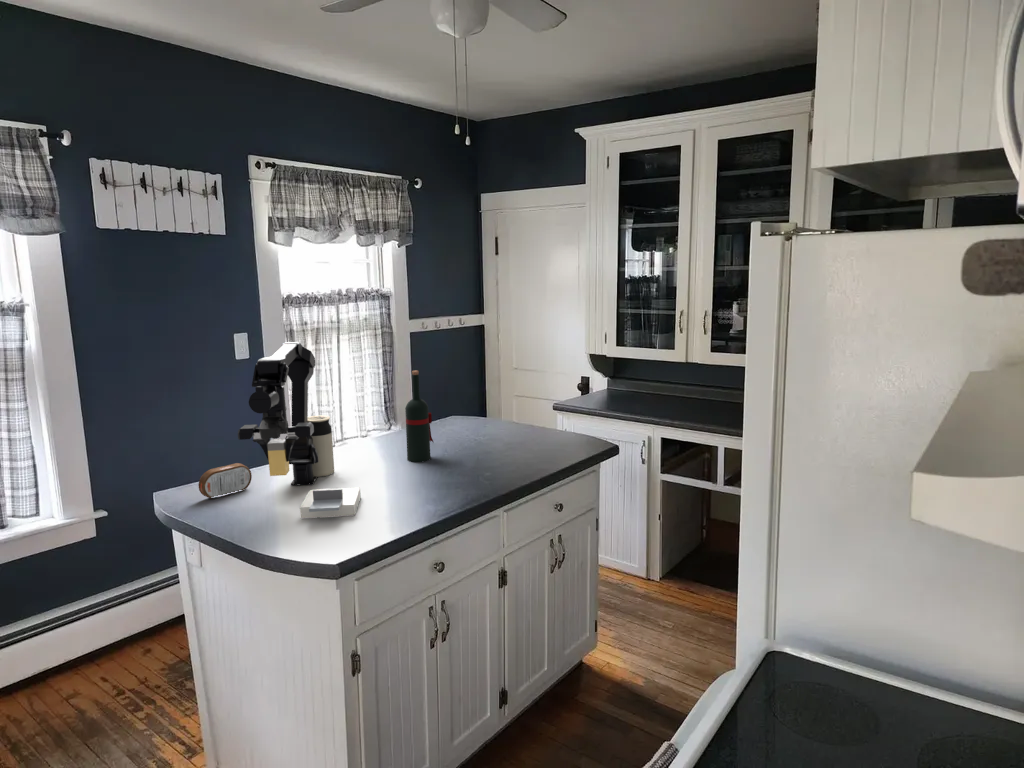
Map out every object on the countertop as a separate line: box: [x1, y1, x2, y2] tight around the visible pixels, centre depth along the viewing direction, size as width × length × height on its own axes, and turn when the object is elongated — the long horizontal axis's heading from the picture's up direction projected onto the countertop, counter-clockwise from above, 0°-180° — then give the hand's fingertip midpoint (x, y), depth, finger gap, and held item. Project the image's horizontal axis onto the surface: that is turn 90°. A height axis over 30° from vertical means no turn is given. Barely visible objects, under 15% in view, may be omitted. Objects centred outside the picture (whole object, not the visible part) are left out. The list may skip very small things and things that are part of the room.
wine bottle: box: [405, 370, 434, 463], centre depth 226 cm, size 8×10×30 cm
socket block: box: [299, 487, 362, 519], centre depth 183 cm, size 14×14×3 cm
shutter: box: [309, 487, 343, 512], centre depth 175 cm, size 7×7×3 cm
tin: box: [197, 462, 252, 499], centre depth 195 cm, size 15×3×8 cm, turn 141°
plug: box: [267, 438, 290, 477], centre depth 183 cm, size 4×4×9 cm
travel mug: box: [308, 414, 335, 478], centre depth 212 cm, size 8×8×18 cm
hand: (278, 461), depth 183 cm, fingers closed on plug, 4 cm apart
